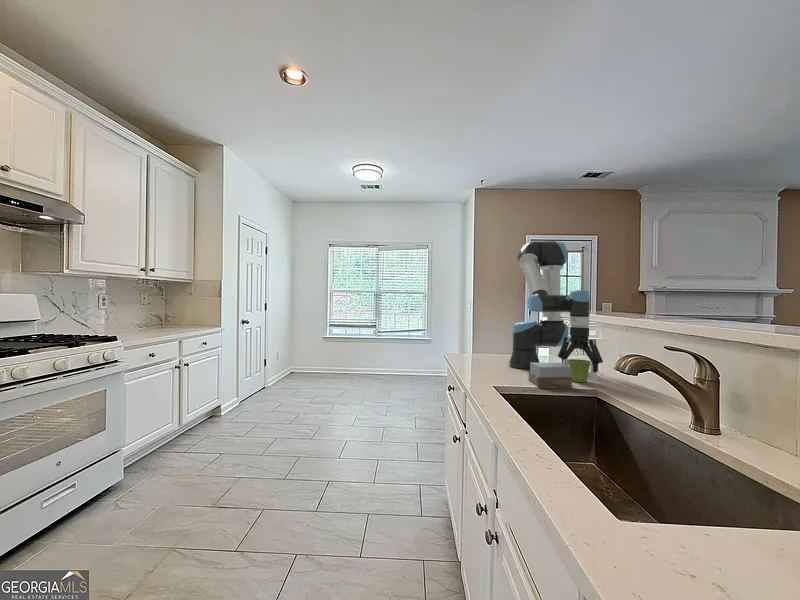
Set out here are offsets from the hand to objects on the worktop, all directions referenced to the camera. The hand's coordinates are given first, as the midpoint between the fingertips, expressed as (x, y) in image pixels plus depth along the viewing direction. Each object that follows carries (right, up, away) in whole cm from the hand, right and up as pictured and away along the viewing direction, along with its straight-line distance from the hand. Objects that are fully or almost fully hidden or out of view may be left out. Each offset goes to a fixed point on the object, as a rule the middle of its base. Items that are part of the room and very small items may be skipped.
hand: (579, 377), depth 175 cm
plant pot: (0, -2, 0) cm, 2 cm away
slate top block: (-15, +2, -8) cm, 17 cm away
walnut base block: (-15, -2, -8) cm, 17 cm away
